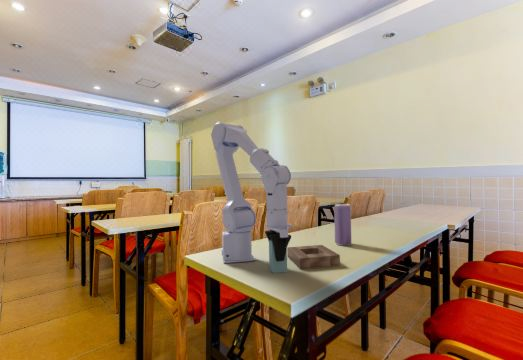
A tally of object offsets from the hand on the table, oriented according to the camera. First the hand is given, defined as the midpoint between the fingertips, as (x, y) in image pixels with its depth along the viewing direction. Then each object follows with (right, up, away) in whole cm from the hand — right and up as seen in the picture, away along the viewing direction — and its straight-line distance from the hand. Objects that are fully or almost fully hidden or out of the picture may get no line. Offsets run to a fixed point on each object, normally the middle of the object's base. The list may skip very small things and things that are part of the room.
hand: (277, 258), depth 71 cm
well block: (+11, -3, +7) cm, 13 cm away
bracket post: (0, -3, 0) cm, 3 cm away
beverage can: (+26, -3, +27) cm, 38 cm away
